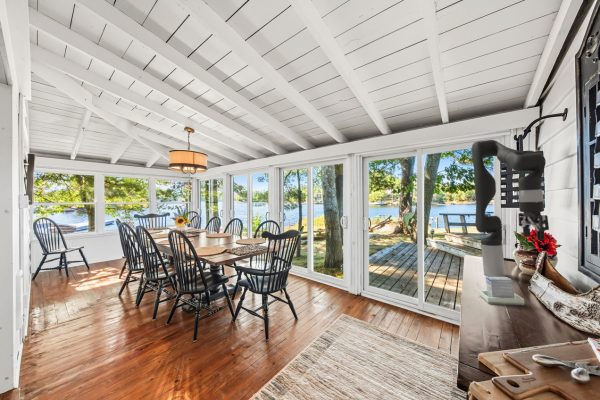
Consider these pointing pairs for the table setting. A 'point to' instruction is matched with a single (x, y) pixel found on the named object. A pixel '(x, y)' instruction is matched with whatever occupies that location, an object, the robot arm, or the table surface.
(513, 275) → the table surface
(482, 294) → the tray
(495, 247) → the robot arm
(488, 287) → the medicine box
